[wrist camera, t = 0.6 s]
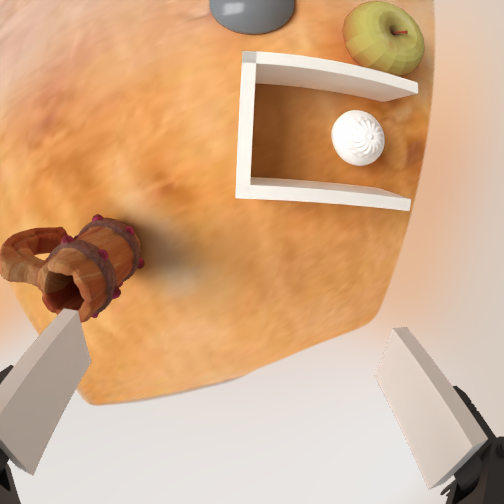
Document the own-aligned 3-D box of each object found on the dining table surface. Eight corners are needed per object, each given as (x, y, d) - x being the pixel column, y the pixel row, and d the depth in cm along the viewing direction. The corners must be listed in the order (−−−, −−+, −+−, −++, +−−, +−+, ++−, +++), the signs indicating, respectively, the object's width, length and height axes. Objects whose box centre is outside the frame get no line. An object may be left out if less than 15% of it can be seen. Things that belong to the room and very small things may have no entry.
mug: (159, 226, 34) (109, 279, 20) (143, 283, 36) (98, 355, 22) (63, 190, 31) (-15, 218, 17) (54, 245, 34) (-13, 292, 20)
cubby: (242, 73, 28) (242, 50, 20) (383, 93, 29) (417, 82, 21) (236, 186, 33) (235, 198, 25) (376, 197, 33) (409, 211, 26)
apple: (411, 82, 28) (447, 72, 21) (346, 84, 29) (374, 69, 21) (391, 18, 25) (421, -3, 17) (325, 15, 25) (345, -13, 18)
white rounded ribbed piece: (317, 155, 32) (336, 157, 25) (328, 106, 30) (350, 97, 23) (364, 170, 32) (391, 176, 26) (375, 123, 30) (404, 119, 24)
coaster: (213, -26, 23) (213, -28, 22) (293, -22, 23) (294, -24, 23) (206, 34, 26) (206, 32, 26) (293, 38, 26) (293, 36, 26)
